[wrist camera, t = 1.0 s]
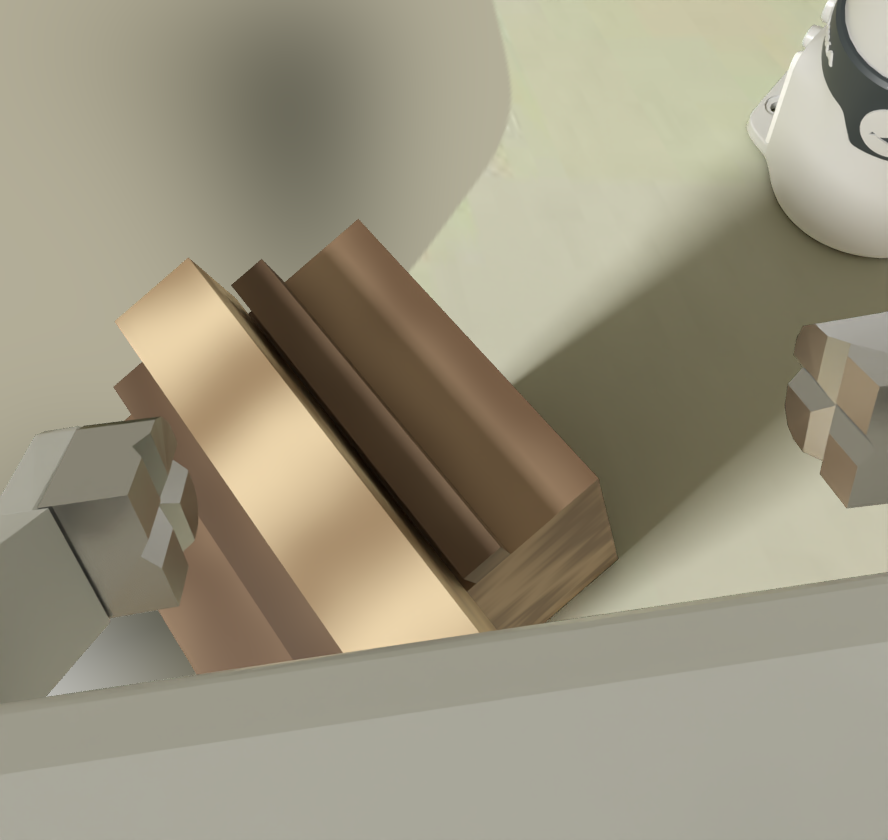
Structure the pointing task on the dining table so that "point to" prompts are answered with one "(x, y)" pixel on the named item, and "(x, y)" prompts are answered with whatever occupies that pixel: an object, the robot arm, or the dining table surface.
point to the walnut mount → (387, 462)
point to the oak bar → (295, 470)
